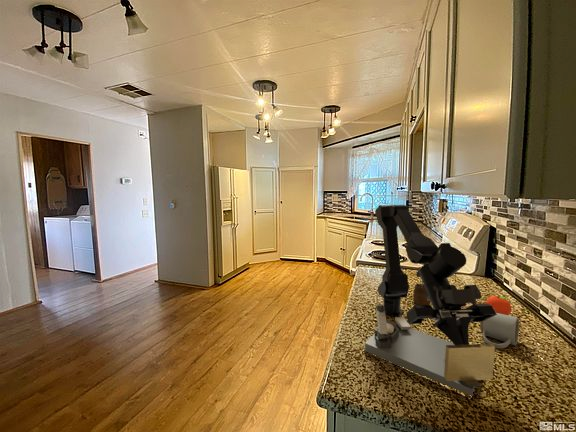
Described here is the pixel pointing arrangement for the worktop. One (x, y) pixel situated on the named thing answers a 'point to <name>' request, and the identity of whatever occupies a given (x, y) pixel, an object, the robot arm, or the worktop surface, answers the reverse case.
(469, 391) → the panel
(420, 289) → the utensil holder
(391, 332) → the push button
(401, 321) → the block
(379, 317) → the steel lever
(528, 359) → the worktop surface
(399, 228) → the robot arm
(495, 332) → the ceramic mug
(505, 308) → the red tomato
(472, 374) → the brass paddle
